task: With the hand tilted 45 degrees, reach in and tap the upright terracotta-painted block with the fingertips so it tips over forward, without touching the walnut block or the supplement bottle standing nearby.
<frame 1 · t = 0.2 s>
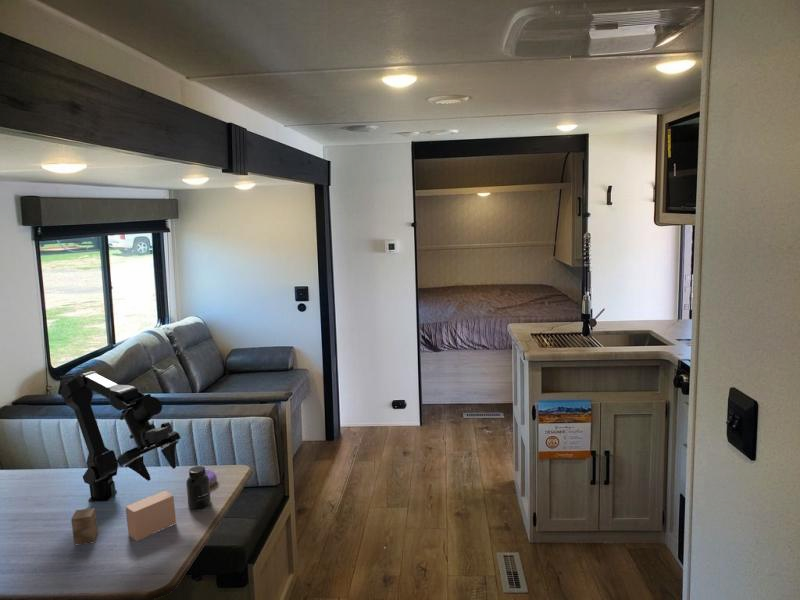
hand: (162, 474, 183), 15 cm above the table, tool tilted 30°, fingers open, 9 cm apart
donut: (202, 485, 208), on the table
supplement bottle: (199, 505, 194), on the table
walnut block: (86, 539, 176), on the table
terracotta block: (152, 529, 181), on the table
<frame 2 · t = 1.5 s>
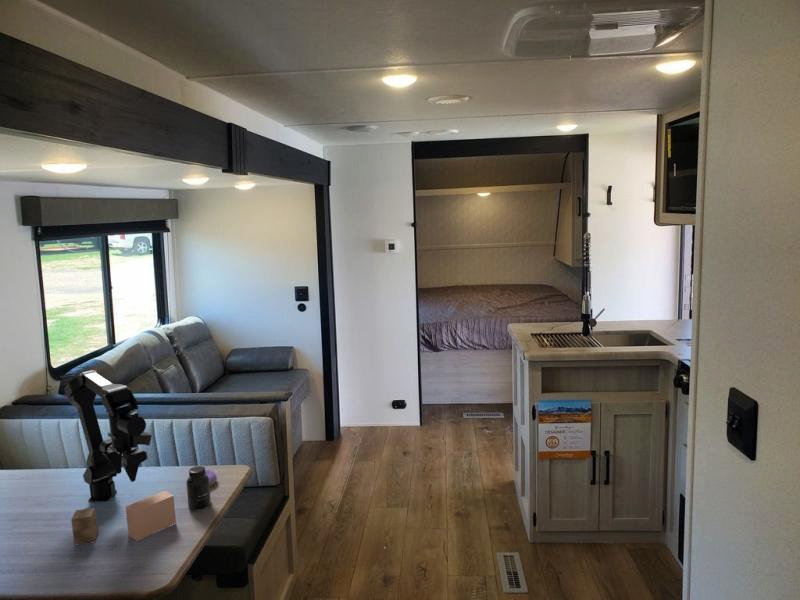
hand: (126, 477, 188), 12 cm above the table, tool pointing down, fingers open, 9 cm apart
nothing on the table moved.
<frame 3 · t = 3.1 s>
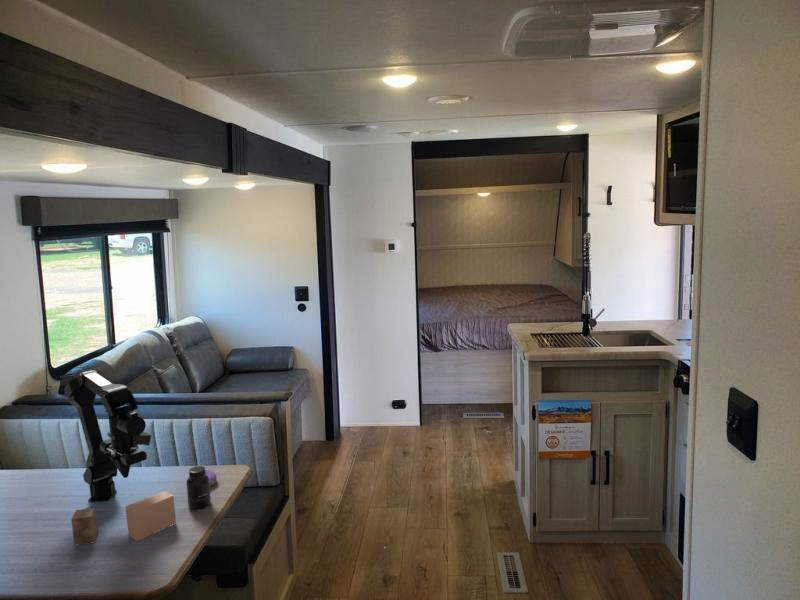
hand: (125, 477, 188), 12 cm above the table, tool pointing down, fingers closed
nothing on the table moved.
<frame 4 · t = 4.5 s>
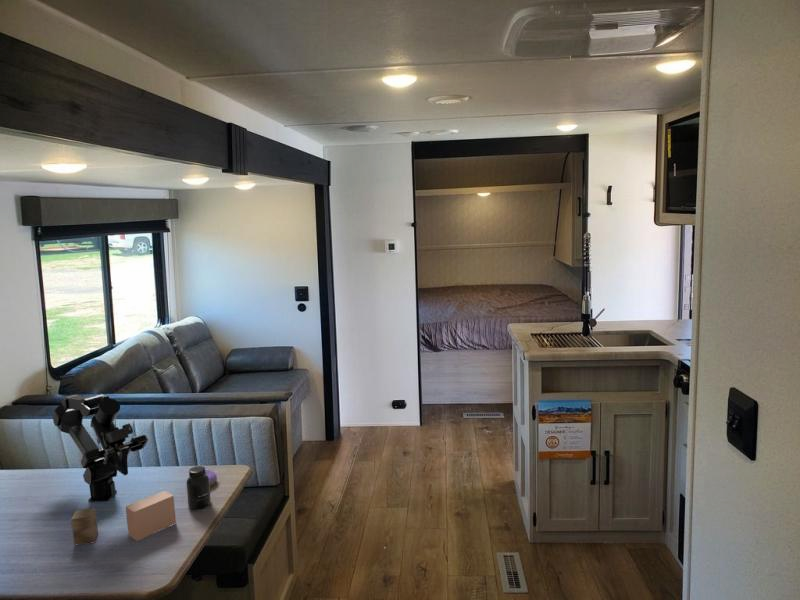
hand: (126, 474, 186), 13 cm above the table, tool tilted 45°, fingers closed
nothing on the table moved.
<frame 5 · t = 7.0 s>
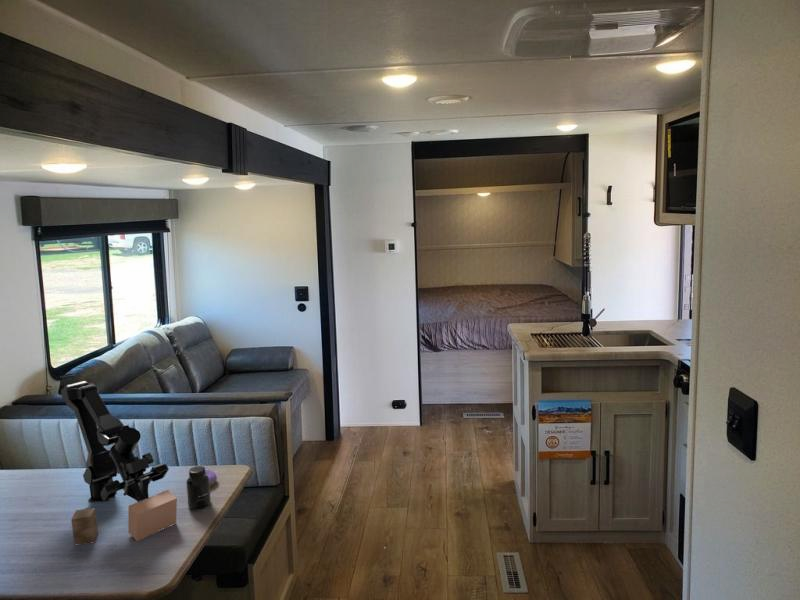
hand: (147, 506, 180), 7 cm above the table, tool tilted 45°, fingers closed, pressing on terracotta block
terracotta block: (152, 527, 181), on the table, tilted 12°, touching gripper
everything else where it was.
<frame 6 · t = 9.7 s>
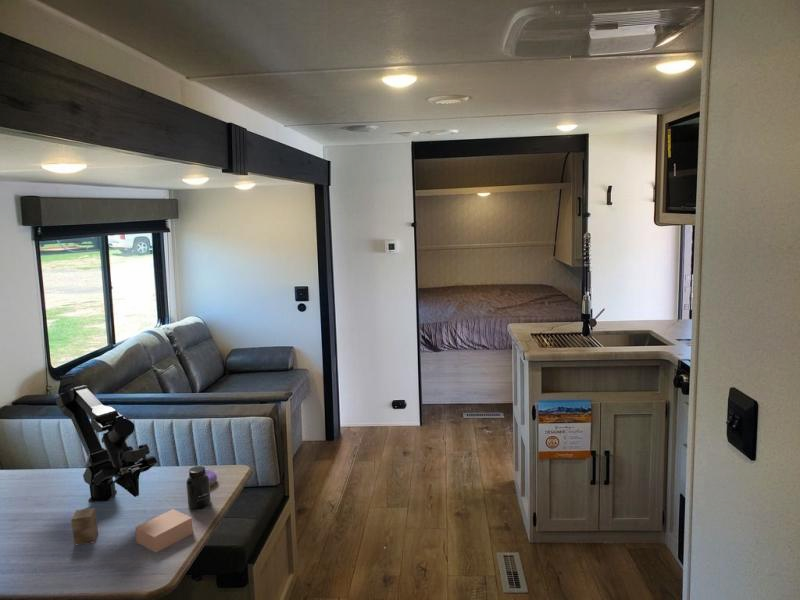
hand: (137, 496, 184), 8 cm above the table, tool tilted 40°, fingers closed
terracotta block: (155, 525, 178), point 2 cm above the table, tilted 90°
everything else where it was.
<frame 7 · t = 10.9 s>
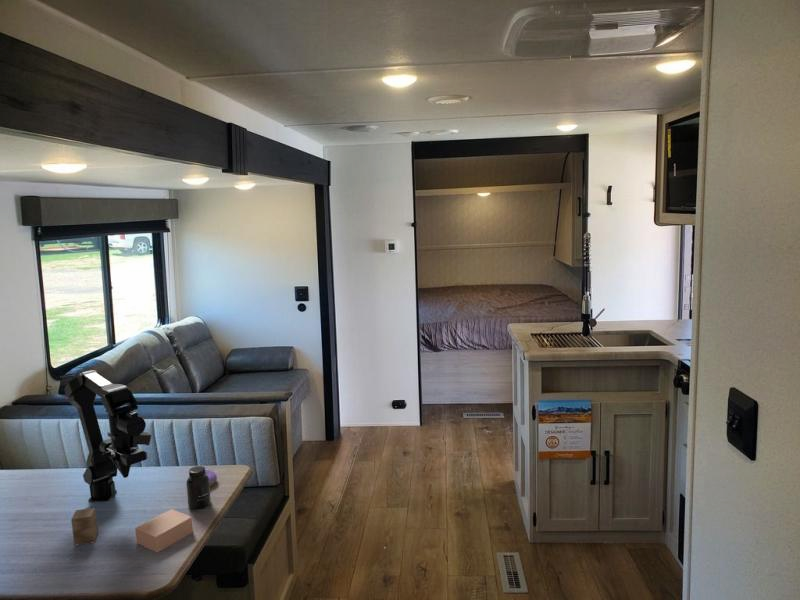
hand: (125, 477, 188), 12 cm above the table, tool pointing down, fingers closed
nothing on the table moved.
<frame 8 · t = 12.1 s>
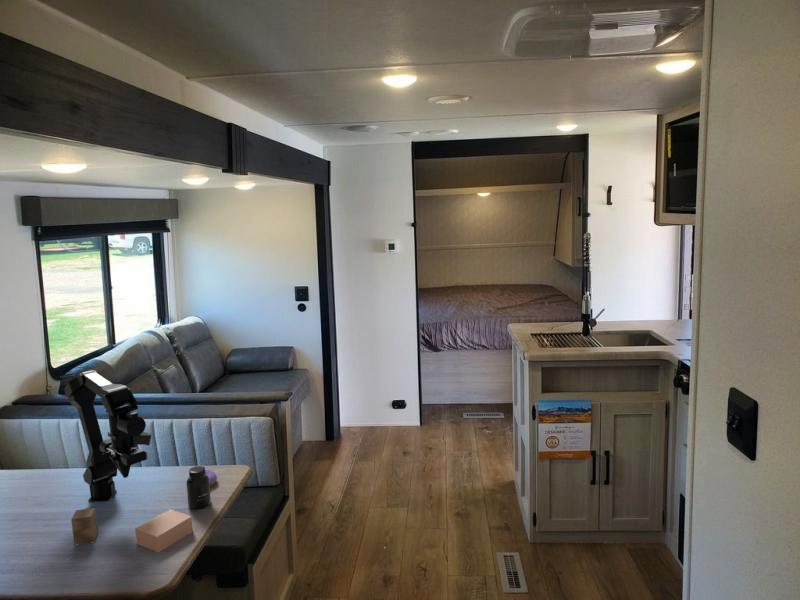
hand: (125, 477, 188), 12 cm above the table, tool pointing down, fingers closed
nothing on the table moved.
at the end: terracotta block tilted 90°; walnut block moved 0.1 cm from its start; supplement bottle moved 0.2 cm from its start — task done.
